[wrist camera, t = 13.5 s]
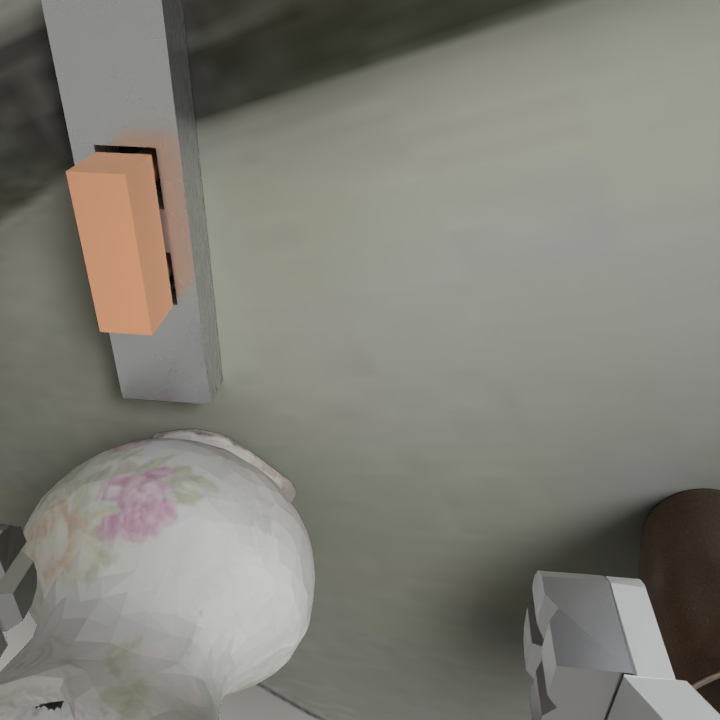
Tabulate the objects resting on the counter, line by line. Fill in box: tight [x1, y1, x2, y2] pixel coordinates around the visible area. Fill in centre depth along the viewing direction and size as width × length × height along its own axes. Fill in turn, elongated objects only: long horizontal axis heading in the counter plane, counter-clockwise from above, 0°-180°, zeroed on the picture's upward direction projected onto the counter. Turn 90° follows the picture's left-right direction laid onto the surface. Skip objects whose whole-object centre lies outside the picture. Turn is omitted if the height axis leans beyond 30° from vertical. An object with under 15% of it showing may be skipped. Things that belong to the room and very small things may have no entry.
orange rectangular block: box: [66, 147, 173, 335], centre depth 38 cm, size 9×3×7 cm, turn 179°
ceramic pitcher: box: [0, 429, 315, 720], centre depth 43 cm, size 22×20×25 cm
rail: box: [41, 0, 223, 404], centre depth 40 cm, size 24×6×3 cm, turn 179°
